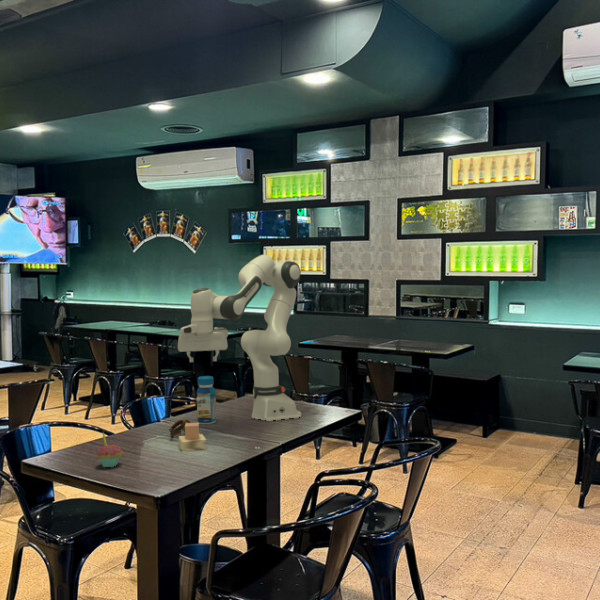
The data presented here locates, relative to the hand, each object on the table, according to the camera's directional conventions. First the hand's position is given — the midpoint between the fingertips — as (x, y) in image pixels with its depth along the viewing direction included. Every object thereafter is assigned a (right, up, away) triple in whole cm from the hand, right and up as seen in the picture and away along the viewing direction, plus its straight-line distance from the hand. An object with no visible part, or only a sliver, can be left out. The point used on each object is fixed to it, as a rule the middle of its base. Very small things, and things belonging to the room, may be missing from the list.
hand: (203, 361), depth 257 cm
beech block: (-1, -31, -21) cm, 37 cm away
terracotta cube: (-1, -27, -21) cm, 34 cm away
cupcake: (-26, -32, -42) cm, 58 cm away
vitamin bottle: (-1, -29, +17) cm, 33 cm away
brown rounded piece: (-7, -30, -6) cm, 31 cm away
